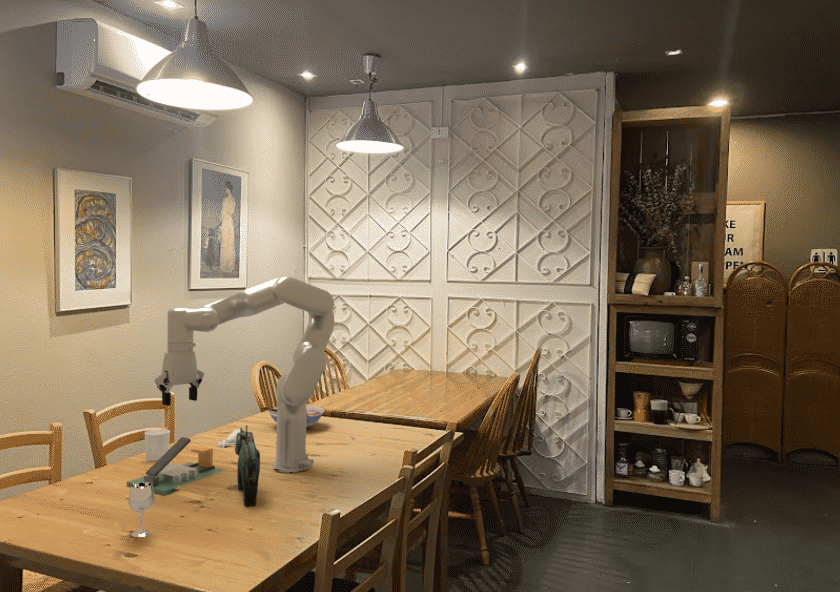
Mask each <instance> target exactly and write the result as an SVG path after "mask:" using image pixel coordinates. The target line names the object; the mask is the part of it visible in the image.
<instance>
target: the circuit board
mask: <svg viewBox="0 0 840 592" xmlns="http://www.w3.org/2000/svg"><path fill="white" fill-rule="evenodd" d="M182 465H183V466H187V467H192V468H196V469H197V478H195V479H194V478H190V479H189V481H181V483H180V484H177V483H175V484H170V483H166V482H161V481H159V485H157V486H154V487H153V490H154V494H158V495H161V496H168V495H170V494H173V493H176V492H179V491H180V489H176V488H179V487H181V486H184V485H185V486H186V485H187V484H190V483H193V482H197V481H199V480H202V479H204V478H207V477H211V476H213V475H216V474H219V473H222V472H225V471H226V469H224V468H218V467H216V465H213V464H212V466H210V467H203V466H198V461H197V462H192V461H191V462H187V463H186V462H185V463H182ZM139 482H144V476H142V477H139V478H134V479H132V480H129V481H126V487H130V488H131V485H133V484H135V483H139Z"/></svg>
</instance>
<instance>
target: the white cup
mask: <svg viewBox="0 0 840 592" xmlns="http://www.w3.org/2000/svg"><path fill="white" fill-rule="evenodd" d="M170 434H171V430H169V429H164V428H160V429H157V428H156V429H151V430H147V431H144V448H145V450H144V451H145V463H148V462H151V461H153V462H157V461H158V460H159V459H160V458H161V457H162V456H163V455H164V454H165V453H166V452H167V451H168V450H169V449H170V439H171V437H170V436H171V435H170Z"/></svg>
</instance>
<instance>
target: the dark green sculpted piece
mask: <svg viewBox="0 0 840 592" xmlns="http://www.w3.org/2000/svg"><path fill="white" fill-rule="evenodd" d="M239 429H240V433H237V437H236V444H235V447H234V452H235V454H236V455H237V456H238V459H237V465H236V466H237V468H236V470H237V471H236V478H237V480H236V481H237V490H238V491H242V496H243V506H244V507H246V508H251V507H256V506H257V497H258V488H259V487H258V486H259V478H260V472H261V454H260V450H258V448H257V446H256V444H255V439H254V435H253V434H254V433H253V432H252V431H248V425H246V424H245V430H246V432H245V430H244V429H243V428H242V427H241V426H240V427H239ZM242 429H243V430H244V431H243V430H242Z"/></svg>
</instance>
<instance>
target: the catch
mask: <svg viewBox="0 0 840 592" xmlns="http://www.w3.org/2000/svg"><path fill="white" fill-rule="evenodd" d="M190 450H191V451H190V452H191V453H196V454H198V457H197V459H198V460H197V462H198V466H203V467H210V466H213V462H214V461H213V457H214V456H213V455H214V453H213V451H214V448H212V447H208V446H207V447H206V446H197V447H194V448H191V449H190Z"/></svg>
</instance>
